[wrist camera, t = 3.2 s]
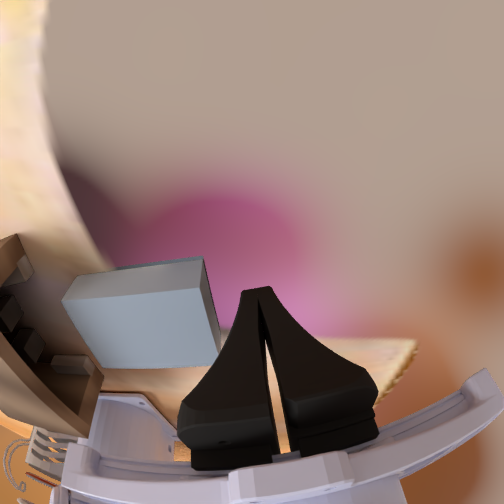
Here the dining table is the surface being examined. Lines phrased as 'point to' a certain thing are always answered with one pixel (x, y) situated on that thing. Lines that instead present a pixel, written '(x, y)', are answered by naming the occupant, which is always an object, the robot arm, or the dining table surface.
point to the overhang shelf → (40, 365)
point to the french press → (42, 456)
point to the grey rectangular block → (147, 315)
